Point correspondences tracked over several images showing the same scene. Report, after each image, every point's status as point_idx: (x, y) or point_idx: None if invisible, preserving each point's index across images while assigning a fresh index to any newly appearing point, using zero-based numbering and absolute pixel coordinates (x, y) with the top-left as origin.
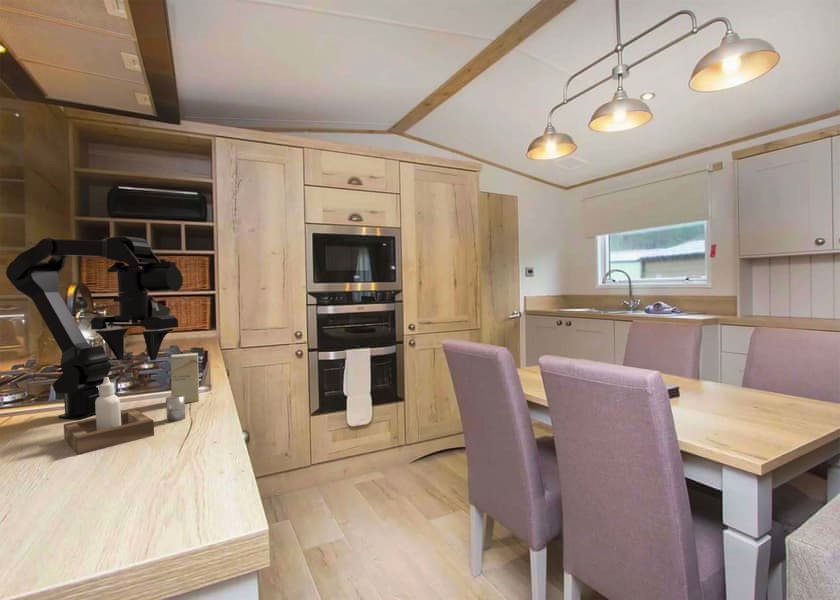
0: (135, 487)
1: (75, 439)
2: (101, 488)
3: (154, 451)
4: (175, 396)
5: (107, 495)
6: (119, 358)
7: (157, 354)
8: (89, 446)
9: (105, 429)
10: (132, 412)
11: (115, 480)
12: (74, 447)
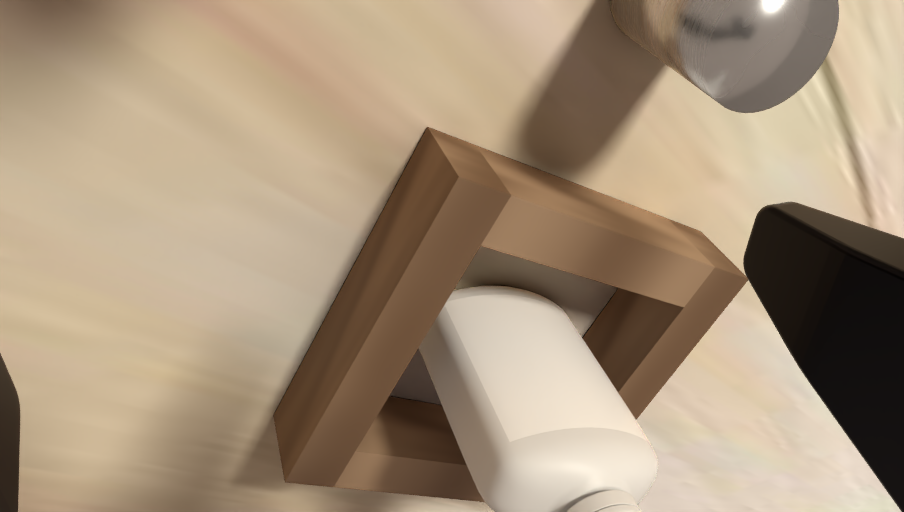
0: (866, 464)
1: None
2: (788, 497)
3: None
4: (763, 22)
5: (823, 502)
6: (16, 409)
7: (877, 234)
8: None
9: None
10: (510, 231)
11: (797, 470)
12: None
